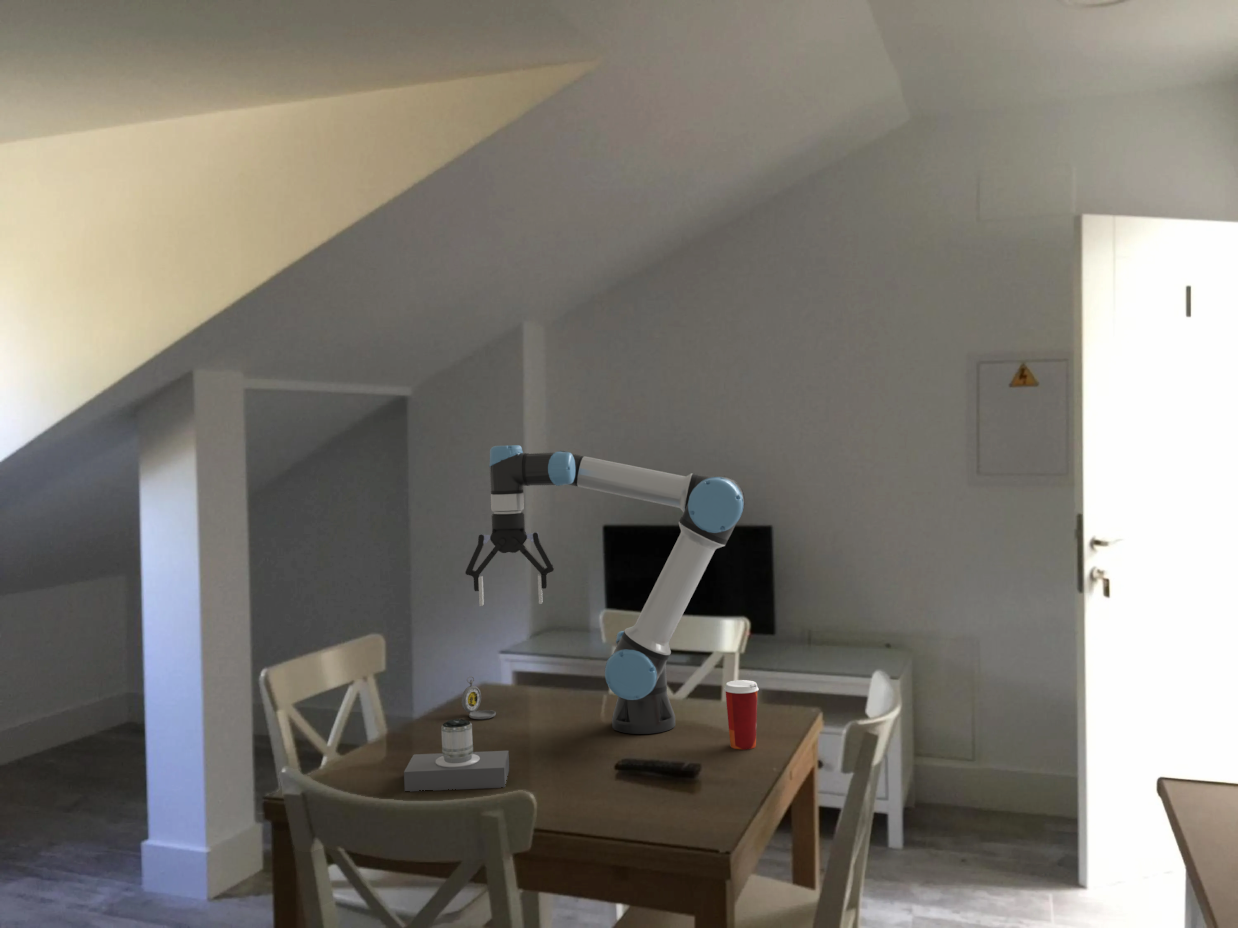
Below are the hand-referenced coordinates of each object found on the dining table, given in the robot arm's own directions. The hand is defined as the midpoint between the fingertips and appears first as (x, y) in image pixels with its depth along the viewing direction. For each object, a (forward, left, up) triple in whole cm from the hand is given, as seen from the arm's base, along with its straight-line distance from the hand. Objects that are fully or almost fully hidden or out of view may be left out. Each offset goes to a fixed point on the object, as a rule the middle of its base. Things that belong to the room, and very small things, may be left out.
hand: (511, 604), depth 252 cm
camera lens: (+10, +28, -28) cm, 40 cm away
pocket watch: (+11, -24, -32) cm, 41 cm away
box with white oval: (+10, +28, -32) cm, 43 cm away
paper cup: (-51, +12, -32) cm, 61 cm away
